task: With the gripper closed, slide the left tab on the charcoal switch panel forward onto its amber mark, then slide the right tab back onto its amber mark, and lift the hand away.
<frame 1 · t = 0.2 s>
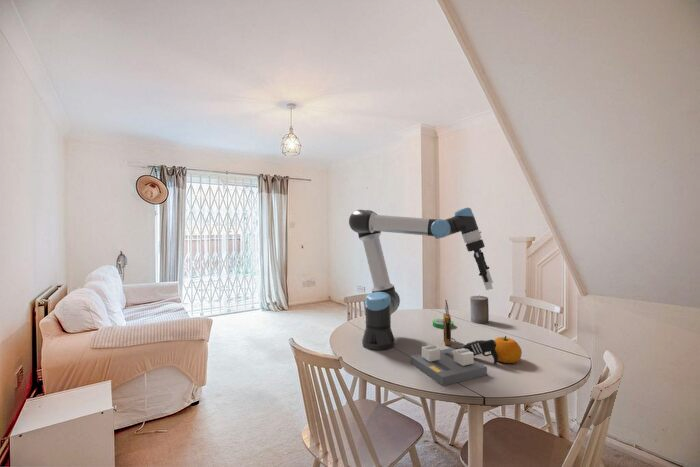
hand: (489, 286, 144), 28 cm above the table, tool tilted 20°, fingers open, 13 cm apart
switch panel: (447, 368, 124), on the table
tape roll: (443, 326, 177), on the table
tab 2: (463, 356, 121), point 6 cm above the table, slide at 8.0 cm
brown tall piece: (455, 343, 150), on the table
fruit: (505, 360, 131), on the table
tab 1: (430, 352, 125), point 6 cm above the table, slide at 0.0 cm
gun: (477, 360, 132), on the table
pillar candle: (479, 321, 184), on the table
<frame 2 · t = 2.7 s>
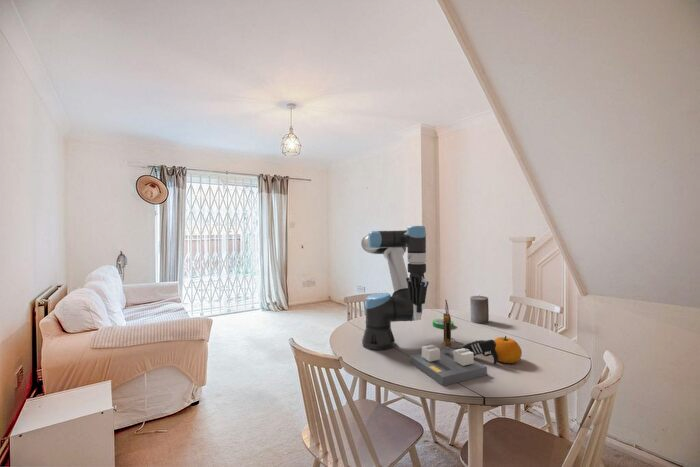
hand: (417, 319, 133), 16 cm above the table, tool pointing down, fingers closed
nothing on the table moved.
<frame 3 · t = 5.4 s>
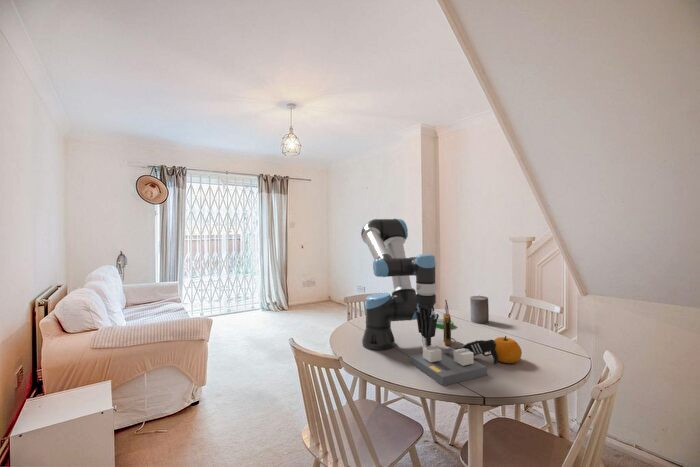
hand: (426, 352, 128), 5 cm above the table, tool pointing down, fingers closed
tab 1: (432, 353, 125), point 6 cm above the table, slide at 0.8 cm, touching gripper
everything else where it was.
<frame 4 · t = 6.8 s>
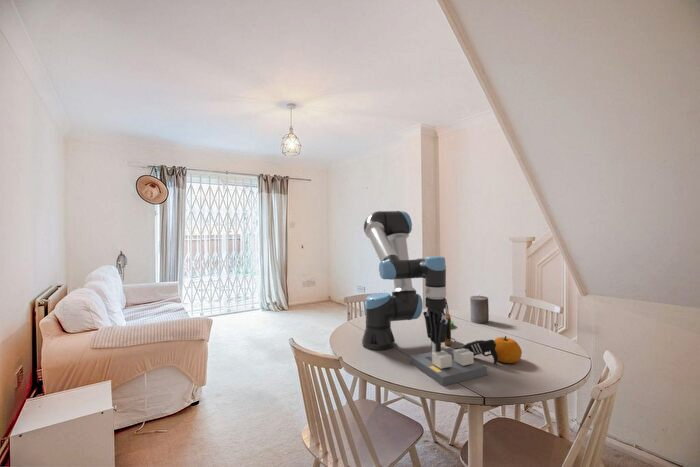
hand: (436, 358, 122), 4 cm above the table, tool pointing down, fingers closed
tab 1: (441, 358, 119), point 6 cm above the table, slide at 6.7 cm, touching gripper
everything else where it was.
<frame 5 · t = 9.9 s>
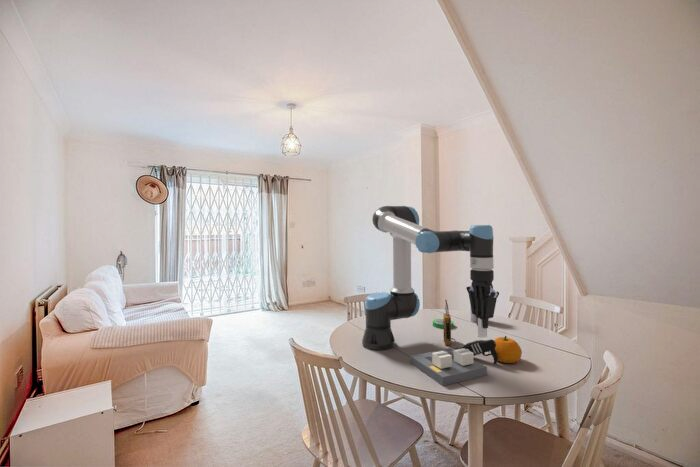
hand: (482, 336, 112), 16 cm above the table, tool pointing down, fingers closed
tab 1: (441, 358, 119), point 6 cm above the table, slide at 6.7 cm
everything else where it was.
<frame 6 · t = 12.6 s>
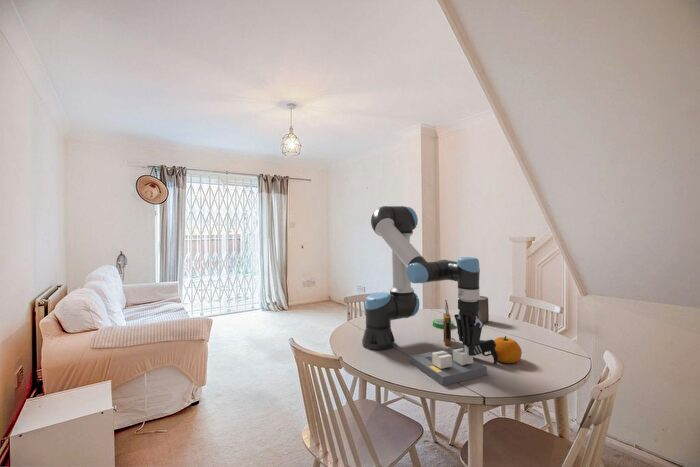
hand: (468, 362, 119), 4 cm above the table, tool pointing down, fingers closed
tab 2: (462, 355, 122), point 6 cm above the table, slide at 7.5 cm, touching gripper
everything else where it was.
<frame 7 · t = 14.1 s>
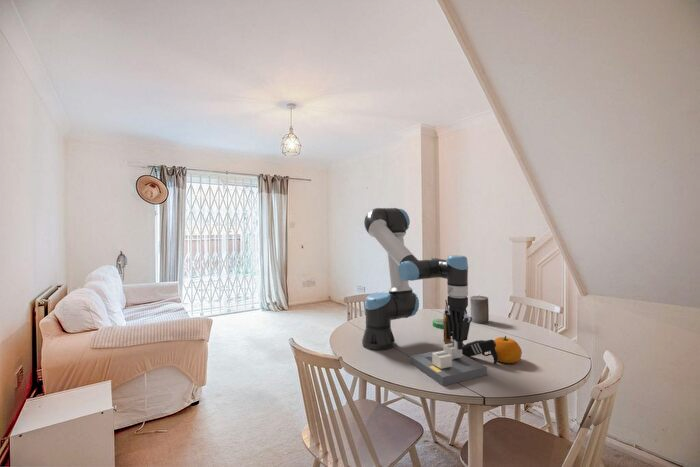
hand: (458, 356, 124), 4 cm above the table, tool pointing down, fingers closed
tab 2: (452, 350, 127), point 6 cm above the table, slide at 1.8 cm, touching gripper
everything else where it was.
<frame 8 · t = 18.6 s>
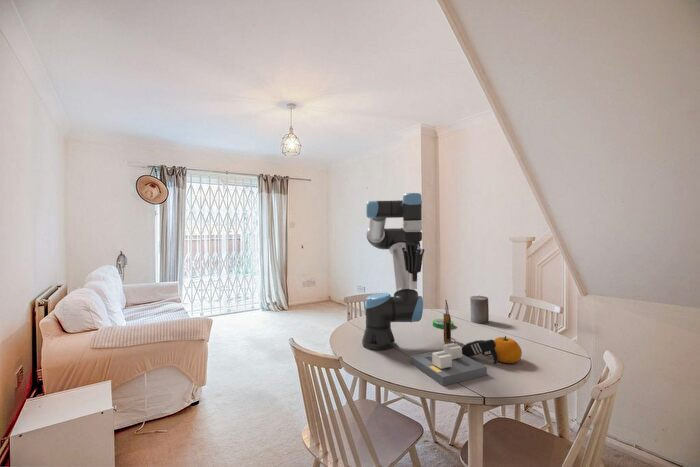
hand: (413, 288, 131), 29 cm above the table, tool pointing down, fingers closed
tab 2: (452, 350, 127), point 6 cm above the table, slide at 1.8 cm
everything else where it was.
at the end: tab 1 slide at 6.7 cm; tab 2 slide at 1.8 cm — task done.
